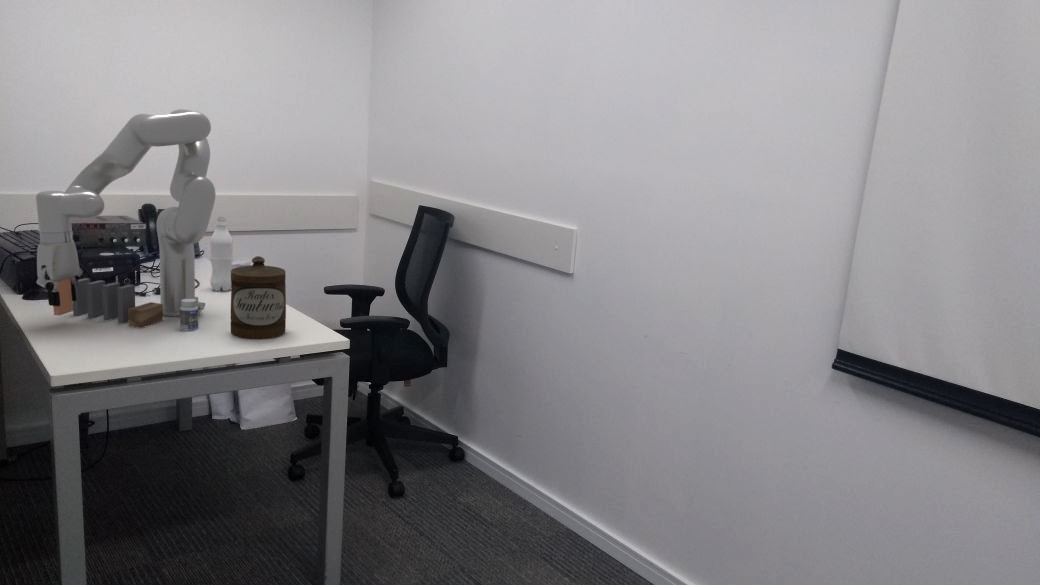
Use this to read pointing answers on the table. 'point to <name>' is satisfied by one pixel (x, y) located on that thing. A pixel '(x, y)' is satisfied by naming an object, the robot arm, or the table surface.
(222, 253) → the water bottle
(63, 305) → the domino
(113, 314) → the domino
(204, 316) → the table surface
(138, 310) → the brown wooden block
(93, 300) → the domino
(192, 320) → the pill bottle
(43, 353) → the table surface
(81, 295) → the domino
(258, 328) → the wooden container
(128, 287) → the domino
